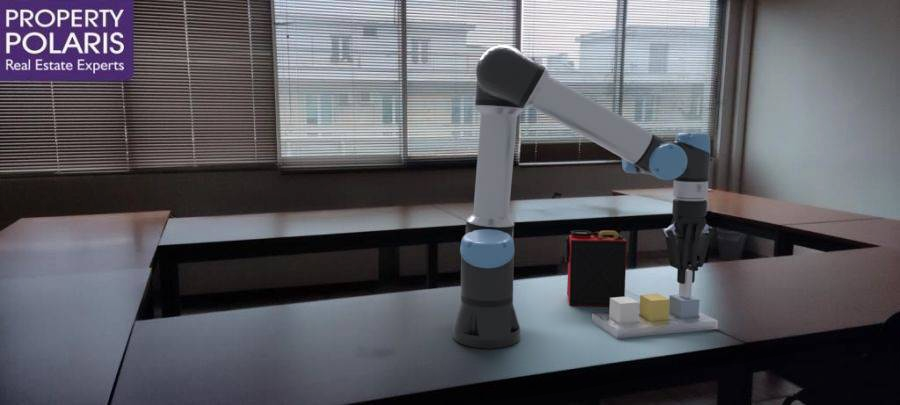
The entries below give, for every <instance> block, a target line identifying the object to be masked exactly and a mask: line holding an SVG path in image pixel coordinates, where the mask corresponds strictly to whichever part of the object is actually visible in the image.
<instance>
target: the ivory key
mask: <svg viewBox="0 0 900 405" xmlns="http://www.w3.org/2000/svg"><path fill="white" fill-rule="evenodd" d="M639 309H640V301H638V300H635V299H634V298H632V297H630V296H625V297H614V298H610V306H609V310H608V312H609V318H610V319H611V320H613V321H614V322H616V323H618V324H630V323H638V318H639Z"/></svg>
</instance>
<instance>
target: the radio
mask: <svg viewBox="0 0 900 405" xmlns="http://www.w3.org/2000/svg"><path fill="white" fill-rule="evenodd" d="M627 244H628V242H627V240H626V239H625V237H624V235H621V233H618V232H617V231H616V230H600V231H595V232H592V231H589V230H584V229H583V230H581V229H576V230H570V234H569V235H568V237H565V244H564V245H565V246H564V256H565V259H564V261H565V263H567V283H566V284H567V287H566V288H567V289H566V294H567V295H566V296H567V302H568V305H569V306H593V307H594V306H595V307H610V298H614V297H626V295H625V294H626V271H627V270H626V269H627V247H628V246H627Z"/></svg>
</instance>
